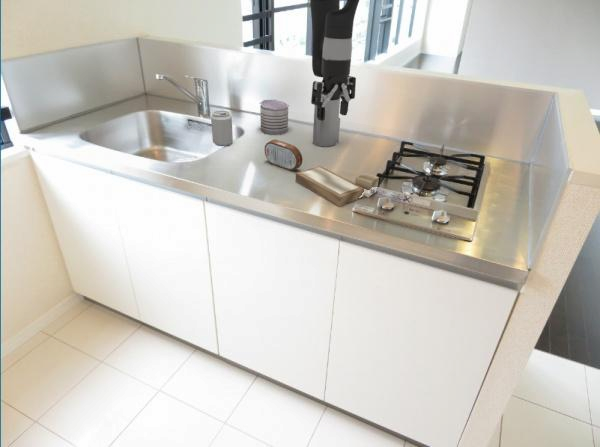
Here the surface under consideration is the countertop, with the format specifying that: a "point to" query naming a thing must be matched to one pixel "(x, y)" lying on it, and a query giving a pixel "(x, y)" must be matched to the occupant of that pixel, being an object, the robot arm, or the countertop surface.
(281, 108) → the can
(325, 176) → the block
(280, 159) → the tin
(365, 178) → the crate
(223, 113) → the can
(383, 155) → the countertop surface
